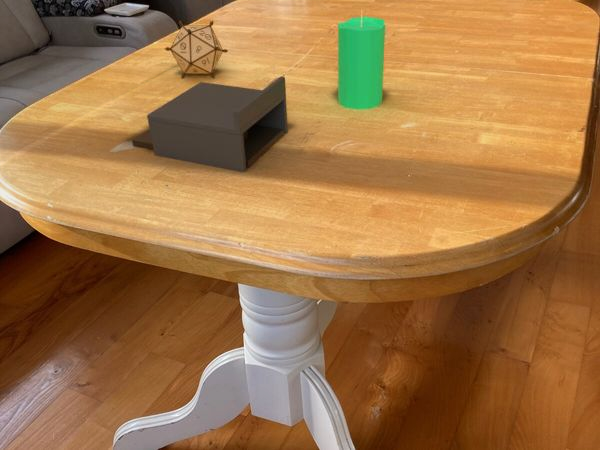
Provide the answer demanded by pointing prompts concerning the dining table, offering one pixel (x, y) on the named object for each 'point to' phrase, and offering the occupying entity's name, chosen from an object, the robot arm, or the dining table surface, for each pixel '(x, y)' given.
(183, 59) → the game die
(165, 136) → the cover
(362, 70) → the candle
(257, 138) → the dark grey button base
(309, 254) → the dining table surface
